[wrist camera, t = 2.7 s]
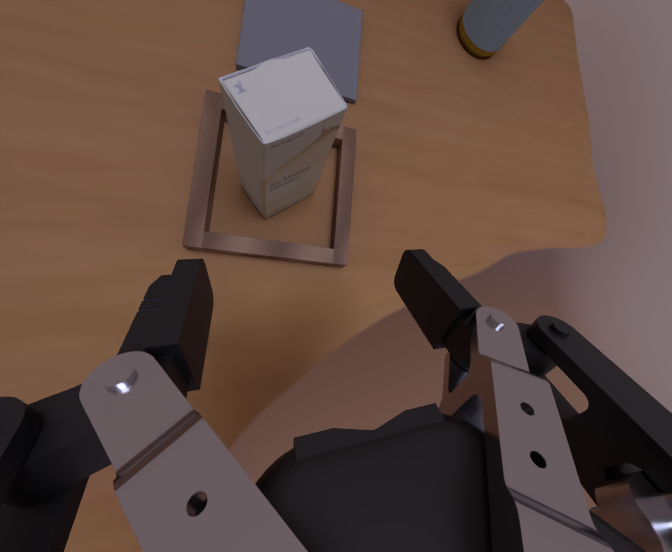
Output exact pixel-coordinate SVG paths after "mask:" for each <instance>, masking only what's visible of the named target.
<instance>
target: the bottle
mask: <svg viewBox="0 0 672 552" xmlns="http://www.w3.org/2000/svg"><path fill="white" fill-rule="evenodd" d="M543 1H544V0H471V2H470V3H469V5H468V6H467V8H466V9H465V11H464V13H463V14H462V16H461V18H460V24H459V35H460V39H461V41H462V43H463V45H464V46H465V47H466V49H467V50H468V51H469V52H471V53H472V54H473V55H476V56H478V57H487V56H491V55H493V54H495V53H496V52H497V51H498V50H499V49H500V48H501V47H502V45H503V44H504V43H505V42H506V41H507V40H508V39H509V38H510V37H511V36H512V35H513V33H514V32H515V31H516V30H517V29H518V28H519V27H520V26H521V25H522V24H523V23H524V21H525V20H526V19H527V18H528V17H529V16H530V15H531V14H532V13H533V12H534V10H535V9H536V8H537V7H538V6H539V5H540V4H541V3H542V2H543Z"/></svg>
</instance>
